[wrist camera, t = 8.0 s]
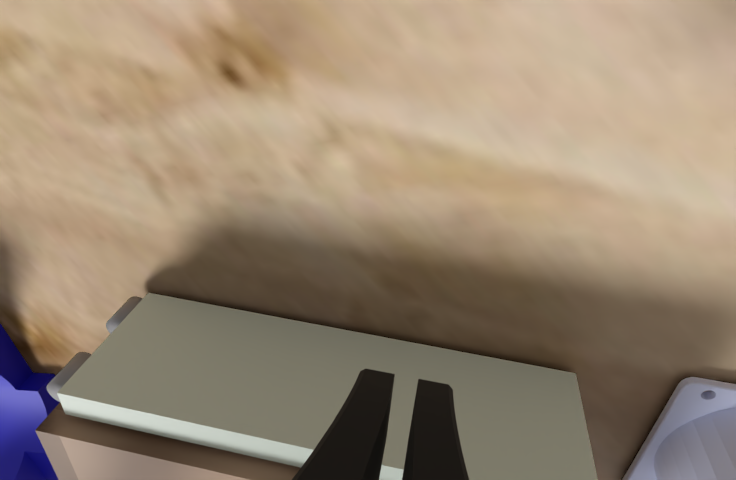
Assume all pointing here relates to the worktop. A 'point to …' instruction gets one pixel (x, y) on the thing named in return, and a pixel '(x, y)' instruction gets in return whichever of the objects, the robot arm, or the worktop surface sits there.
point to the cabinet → (142, 454)
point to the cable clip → (22, 416)
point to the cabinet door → (314, 390)
